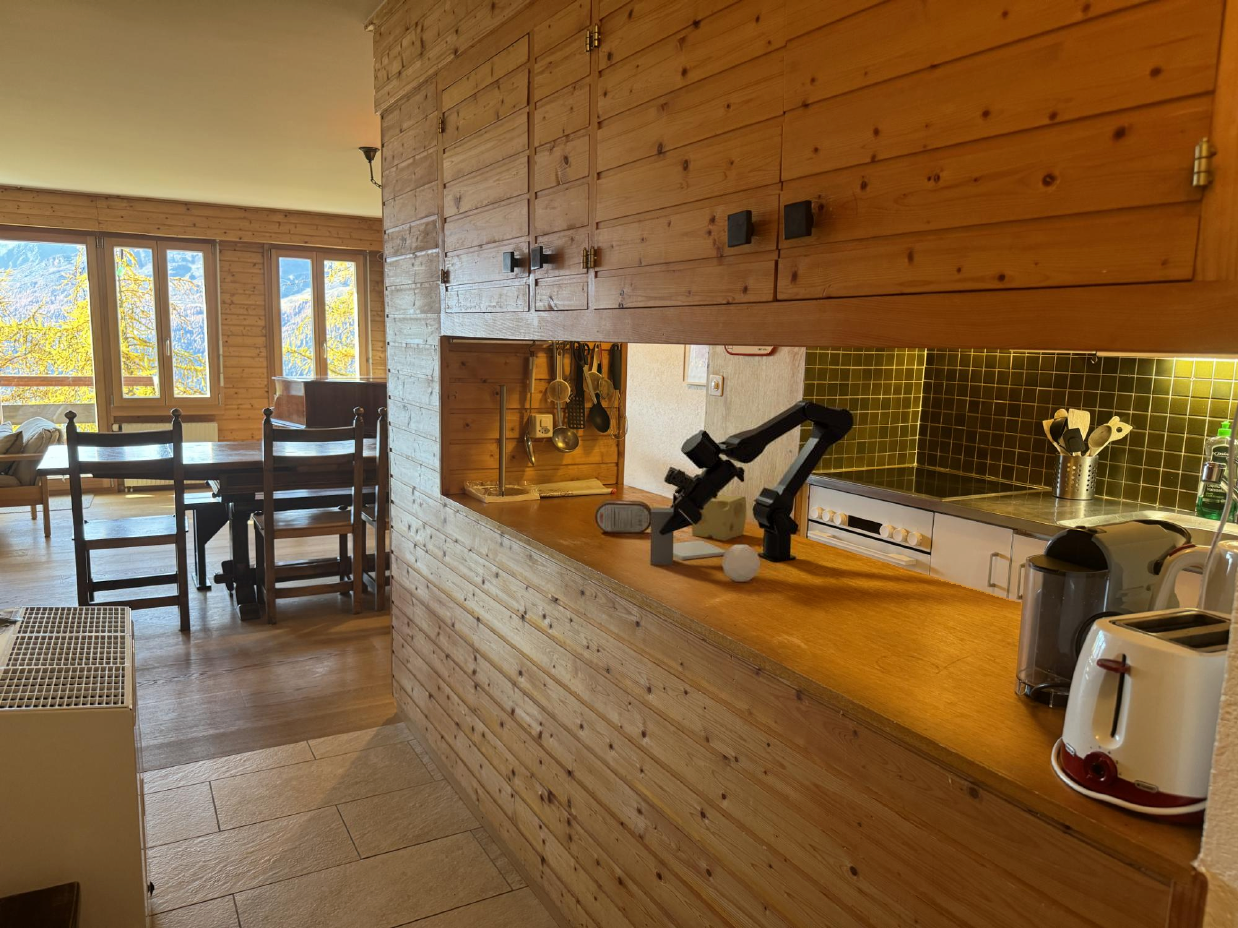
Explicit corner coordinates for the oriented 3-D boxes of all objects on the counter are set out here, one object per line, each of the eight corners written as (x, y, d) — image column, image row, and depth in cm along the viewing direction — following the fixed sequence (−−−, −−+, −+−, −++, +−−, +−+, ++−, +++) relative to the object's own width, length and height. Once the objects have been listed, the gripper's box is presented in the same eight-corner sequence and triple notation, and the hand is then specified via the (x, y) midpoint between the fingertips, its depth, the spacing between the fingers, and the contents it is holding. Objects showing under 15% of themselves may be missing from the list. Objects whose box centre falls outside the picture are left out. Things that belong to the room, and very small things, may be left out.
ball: (735, 595, 179) (716, 568, 176) (732, 572, 186) (714, 546, 183) (768, 580, 177) (750, 552, 174) (764, 557, 184) (746, 530, 181)
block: (672, 559, 198) (673, 507, 196) (673, 565, 193) (673, 512, 191) (650, 559, 198) (651, 507, 196) (650, 564, 193) (650, 511, 191)
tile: (726, 554, 202) (726, 551, 202) (681, 559, 197) (681, 556, 197) (700, 543, 213) (700, 540, 213) (657, 548, 208) (657, 545, 208)
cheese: (725, 541, 216) (726, 502, 214) (689, 535, 222) (689, 497, 221) (746, 534, 224) (747, 496, 223) (710, 528, 230) (711, 491, 229)
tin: (653, 532, 226) (653, 500, 225) (652, 534, 223) (652, 502, 222) (595, 530, 228) (595, 499, 226) (594, 533, 224) (594, 501, 223)
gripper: (685, 450, 201) (636, 496, 203) (687, 461, 182) (633, 511, 184) (718, 484, 201) (670, 530, 204) (724, 498, 183) (670, 548, 185)
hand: (660, 529), depth 194 cm, fingers open, 9 cm apart
